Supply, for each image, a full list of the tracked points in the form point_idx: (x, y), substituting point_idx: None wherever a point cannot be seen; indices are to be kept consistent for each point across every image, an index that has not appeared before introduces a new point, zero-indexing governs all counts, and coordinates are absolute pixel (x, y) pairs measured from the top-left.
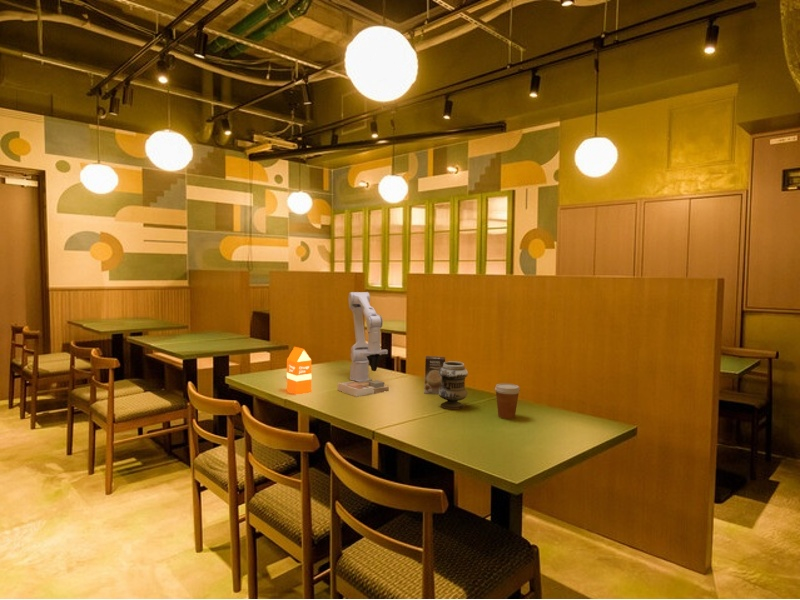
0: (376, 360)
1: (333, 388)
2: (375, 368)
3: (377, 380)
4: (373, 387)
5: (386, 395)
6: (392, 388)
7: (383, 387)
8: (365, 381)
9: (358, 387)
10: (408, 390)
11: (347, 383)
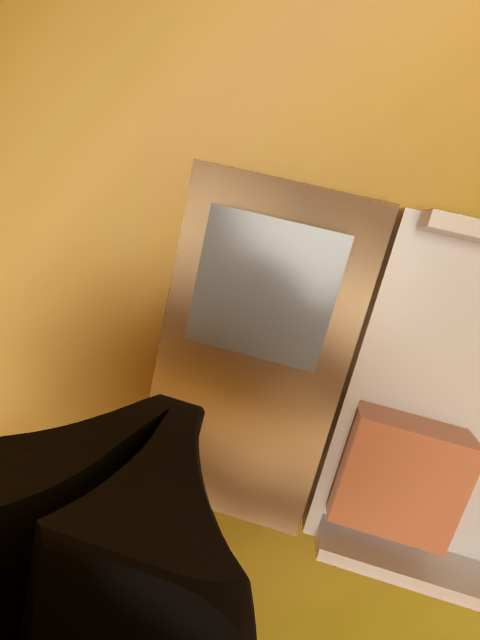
0: (73, 494)
1: (457, 631)
2: (169, 410)
3: (196, 329)
4: None
5: (376, 51)
6: (102, 207)
7: (266, 180)
8: None
9: (410, 421)
10: (51, 15)
11: (412, 570)
